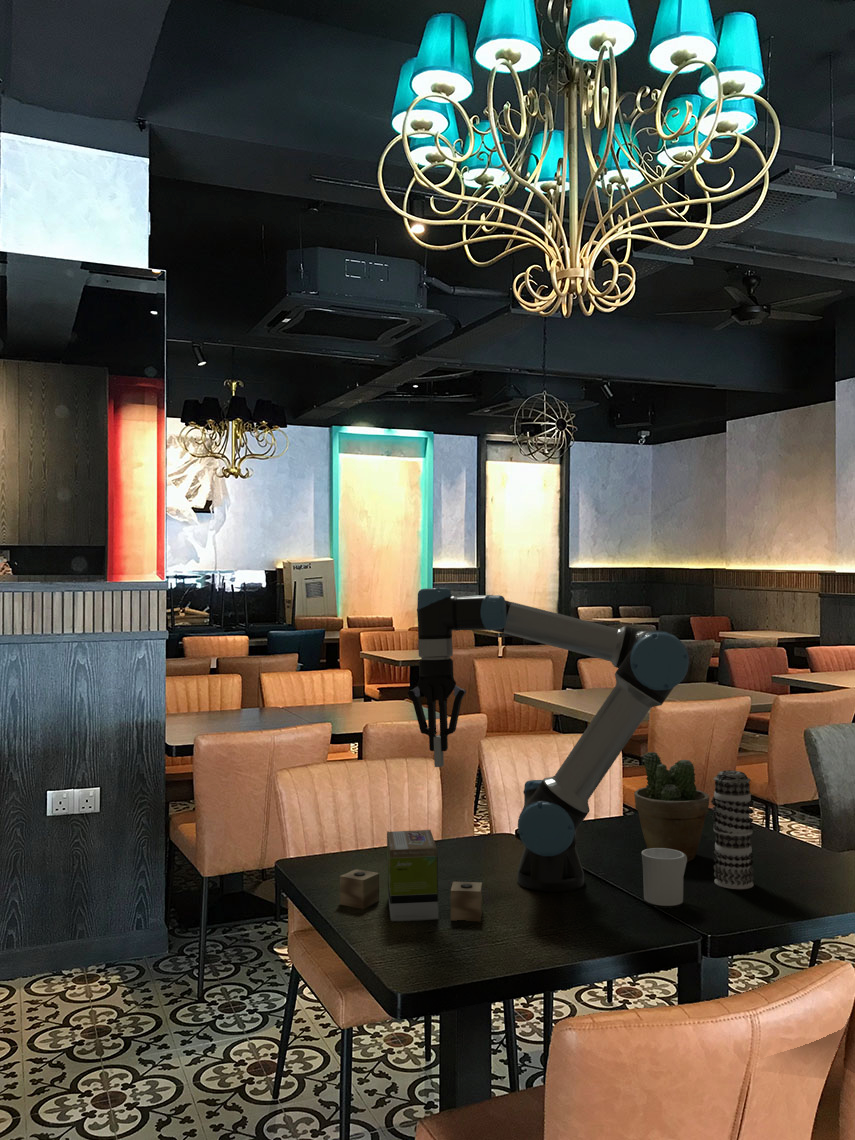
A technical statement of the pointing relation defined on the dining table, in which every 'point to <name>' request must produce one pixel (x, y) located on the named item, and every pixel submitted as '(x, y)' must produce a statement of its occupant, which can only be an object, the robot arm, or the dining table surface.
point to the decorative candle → (732, 830)
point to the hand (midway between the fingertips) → (439, 765)
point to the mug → (663, 876)
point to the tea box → (412, 875)
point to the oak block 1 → (359, 888)
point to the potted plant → (671, 806)
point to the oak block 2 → (466, 901)
